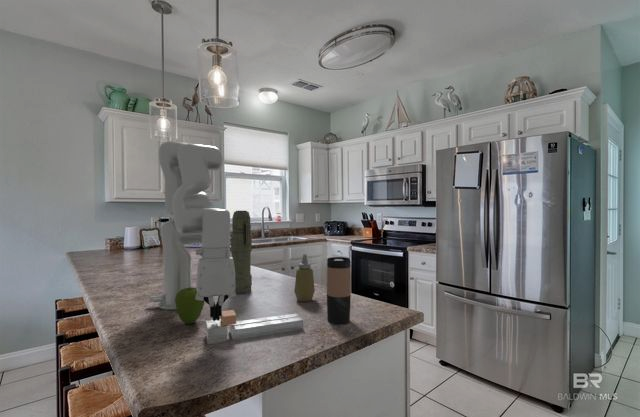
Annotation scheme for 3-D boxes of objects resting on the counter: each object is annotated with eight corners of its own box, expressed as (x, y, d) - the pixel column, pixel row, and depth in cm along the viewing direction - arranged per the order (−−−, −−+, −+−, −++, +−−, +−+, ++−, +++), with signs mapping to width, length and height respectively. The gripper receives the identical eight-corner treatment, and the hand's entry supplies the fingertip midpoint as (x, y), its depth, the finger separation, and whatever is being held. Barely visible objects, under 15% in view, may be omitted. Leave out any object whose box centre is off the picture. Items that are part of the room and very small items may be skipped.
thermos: (241, 296, 130) (242, 210, 130) (224, 291, 138) (224, 210, 138) (258, 291, 137) (258, 210, 137) (240, 287, 145) (240, 210, 145)
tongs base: (207, 344, 85) (207, 329, 85) (206, 334, 91) (206, 320, 91) (303, 329, 95) (303, 316, 95) (295, 321, 101) (295, 309, 101)
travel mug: (352, 318, 105) (353, 257, 105) (347, 326, 98) (347, 261, 98) (330, 315, 107) (330, 256, 107) (323, 323, 100) (323, 259, 100)
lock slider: (222, 325, 87) (222, 316, 87) (220, 319, 91) (220, 311, 91) (236, 323, 88) (236, 315, 88) (233, 318, 93) (233, 309, 93)
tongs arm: (230, 335, 91) (230, 325, 91) (229, 331, 93) (229, 322, 93) (299, 325, 98) (299, 316, 98) (296, 322, 101) (296, 313, 101)
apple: (175, 330, 94) (175, 291, 94) (174, 321, 102) (174, 285, 102) (206, 325, 98) (206, 287, 98) (202, 316, 106) (203, 282, 106)
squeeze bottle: (312, 303, 121) (312, 256, 121) (291, 302, 122) (291, 255, 122) (316, 297, 129) (316, 253, 129) (297, 296, 130) (297, 252, 130)
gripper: (187, 256, 82) (186, 327, 82) (245, 253, 88) (245, 320, 88) (186, 252, 89) (186, 318, 89) (241, 250, 95) (241, 311, 95)
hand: (215, 319), depth 89 cm, fingers closed
